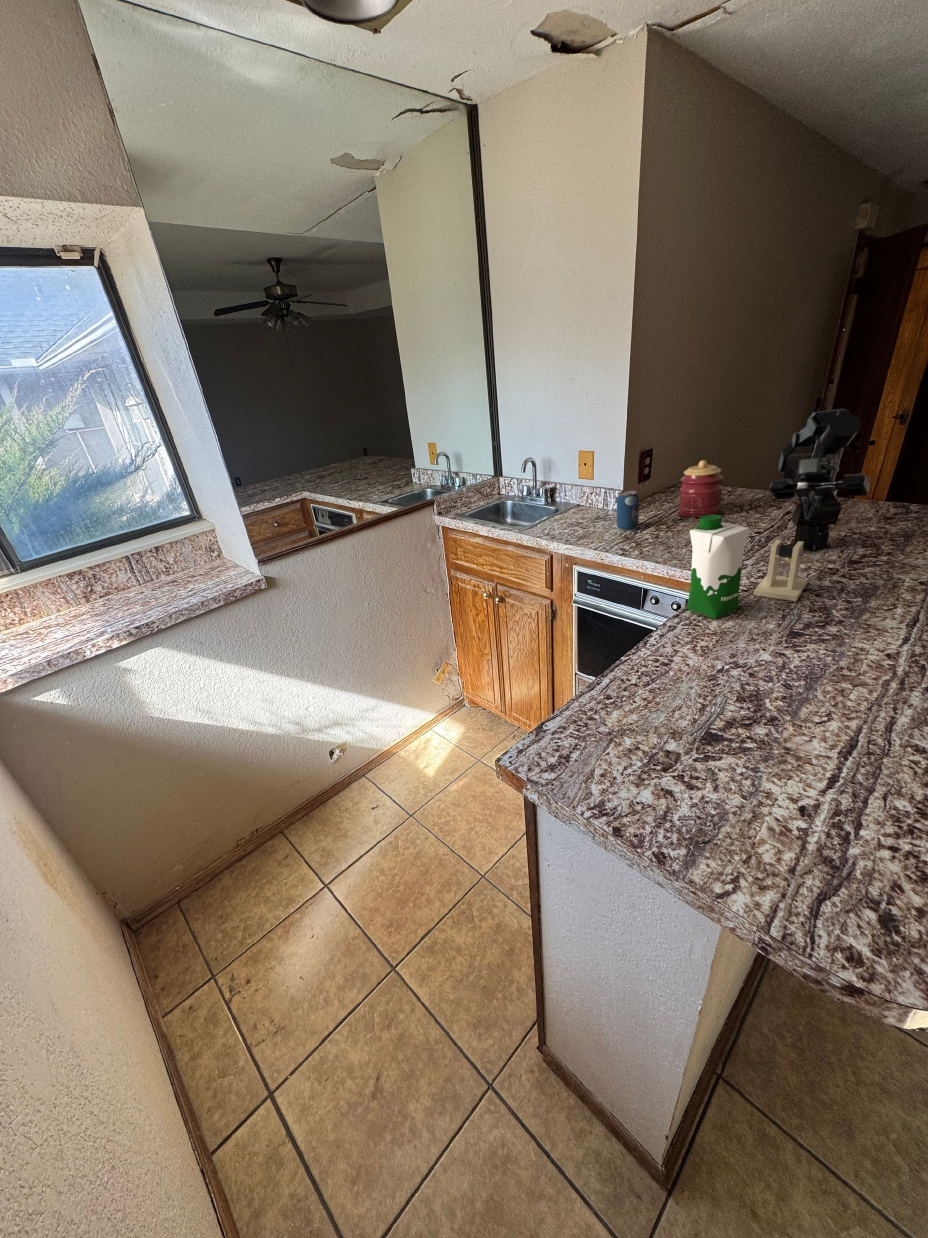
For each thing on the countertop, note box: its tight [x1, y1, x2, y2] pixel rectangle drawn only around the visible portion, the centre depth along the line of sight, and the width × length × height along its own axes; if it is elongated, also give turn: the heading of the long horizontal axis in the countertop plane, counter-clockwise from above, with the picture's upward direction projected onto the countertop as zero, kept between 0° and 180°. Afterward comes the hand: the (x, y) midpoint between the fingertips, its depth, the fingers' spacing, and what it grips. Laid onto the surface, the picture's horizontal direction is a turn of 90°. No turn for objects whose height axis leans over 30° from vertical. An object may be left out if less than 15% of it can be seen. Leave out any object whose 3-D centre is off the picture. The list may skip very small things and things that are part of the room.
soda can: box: [616, 490, 640, 532], centre depth 159 cm, size 7×7×12 cm
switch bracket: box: [753, 539, 808, 602], centre depth 104 cm, size 10×8×11 cm
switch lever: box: [778, 544, 803, 566], centre depth 106 cm, size 12×4×4 cm, turn 136°
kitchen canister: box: [678, 459, 725, 518], centre depth 162 cm, size 13×13×18 cm
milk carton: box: [686, 514, 750, 620], centre depth 99 cm, size 9×9×20 cm
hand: (807, 520), depth 112 cm, fingers closed
